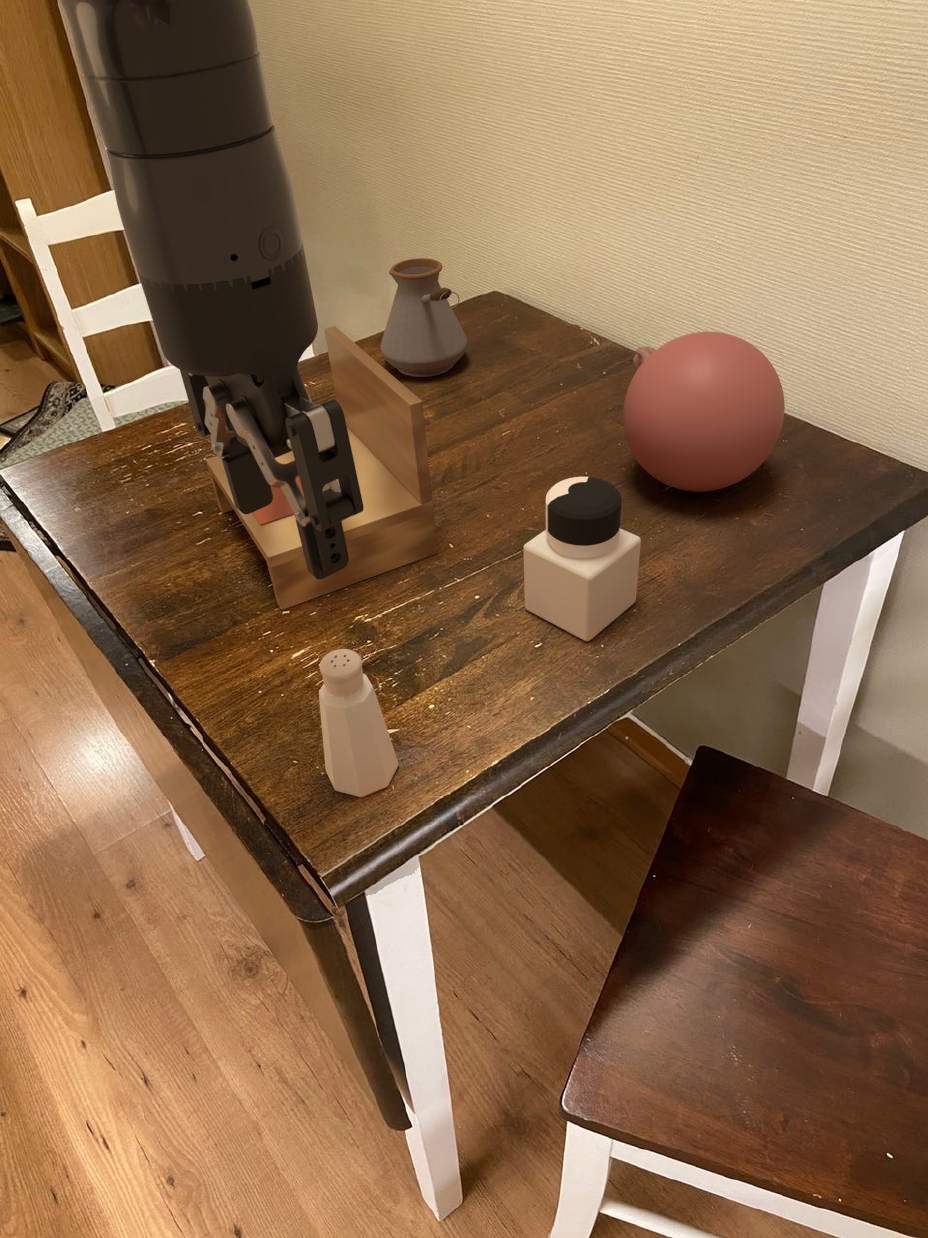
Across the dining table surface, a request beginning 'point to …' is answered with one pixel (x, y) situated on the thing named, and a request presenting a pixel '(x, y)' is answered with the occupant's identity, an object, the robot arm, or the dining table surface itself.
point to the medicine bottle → (581, 559)
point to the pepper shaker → (353, 727)
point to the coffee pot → (422, 322)
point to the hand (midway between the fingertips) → (291, 537)
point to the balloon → (702, 410)
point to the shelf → (387, 478)
